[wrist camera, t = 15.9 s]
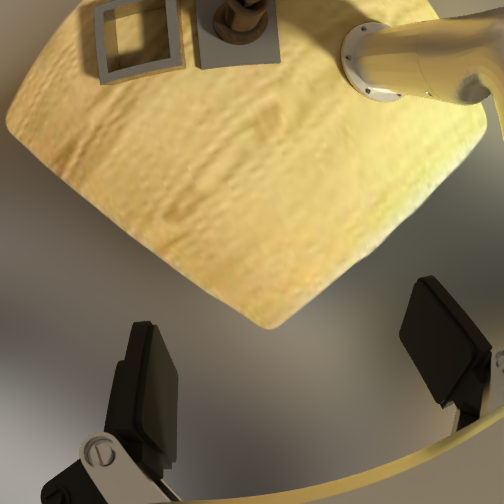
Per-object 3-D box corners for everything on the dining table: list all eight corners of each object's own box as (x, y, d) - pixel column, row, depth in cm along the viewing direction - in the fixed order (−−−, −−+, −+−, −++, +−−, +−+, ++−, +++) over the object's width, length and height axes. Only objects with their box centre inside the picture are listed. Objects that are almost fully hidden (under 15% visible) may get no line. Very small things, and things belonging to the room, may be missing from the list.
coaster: (271, -14, 27) (272, -16, 26) (279, 63, 33) (280, 62, 32) (194, -9, 26) (194, -11, 25) (201, 69, 32) (201, 69, 32)
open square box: (179, -4, 26) (174, -15, 22) (186, 68, 32) (182, 65, 28) (106, 14, 26) (93, 7, 21) (113, 84, 31) (100, 84, 27)
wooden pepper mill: (239, -7, 26) (260, -70, 11) (276, 23, 29) (323, -21, 14) (202, 25, 28) (193, -25, 13) (239, 55, 31) (260, 26, 16)
